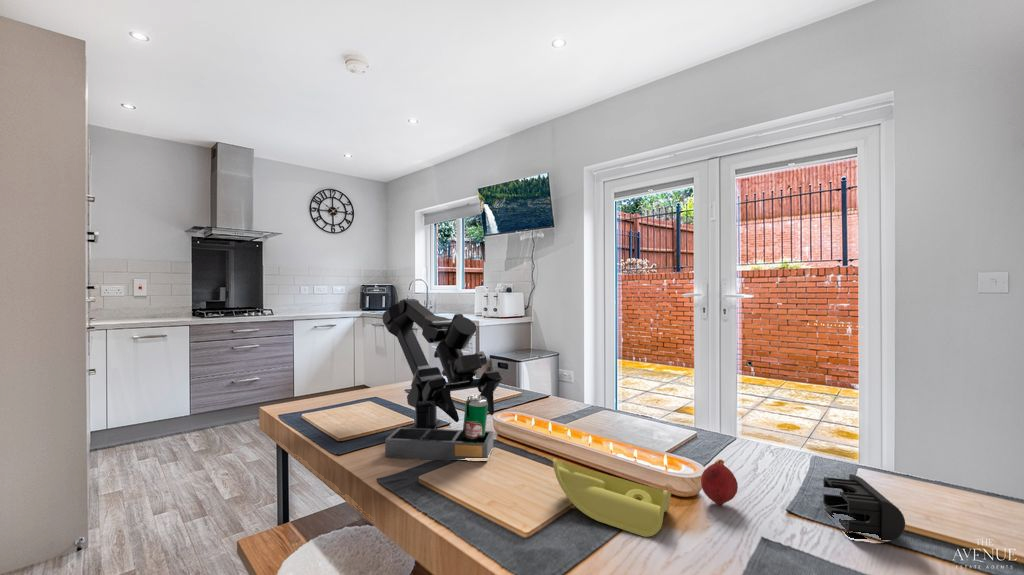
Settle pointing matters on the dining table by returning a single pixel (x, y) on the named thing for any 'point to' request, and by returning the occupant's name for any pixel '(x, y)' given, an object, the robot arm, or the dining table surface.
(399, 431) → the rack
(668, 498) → the plastic component
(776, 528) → the dining table surface
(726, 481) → the onion
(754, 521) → the dining table surface
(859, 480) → the end cap
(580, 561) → the dining table surface
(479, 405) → the soda can
